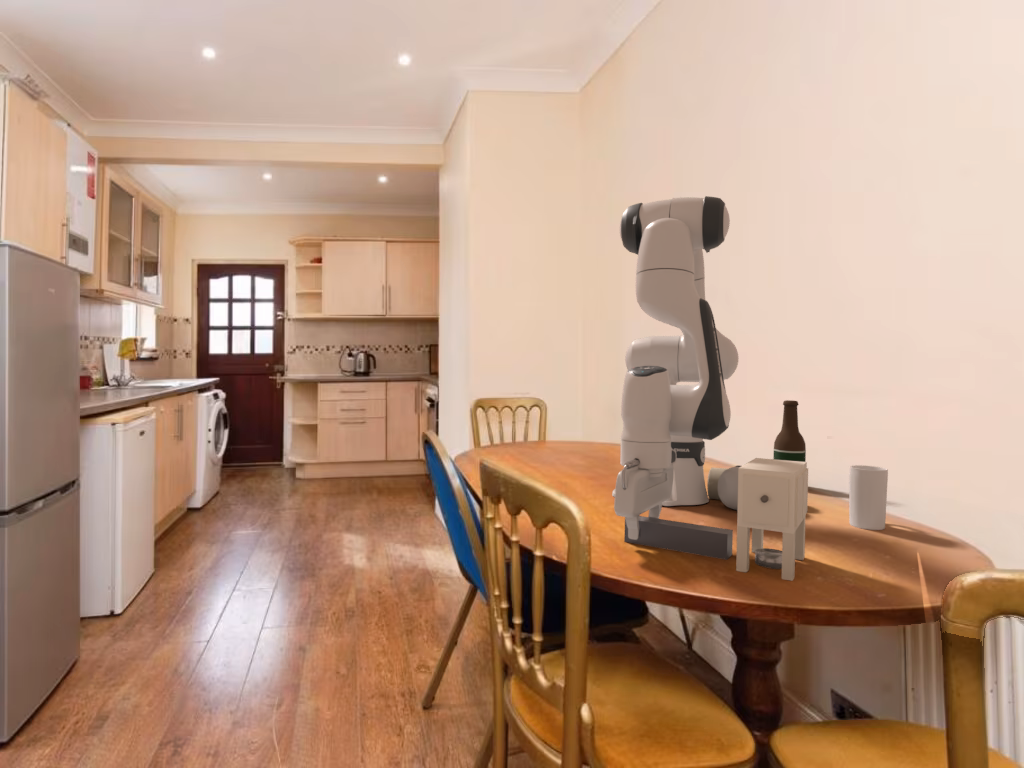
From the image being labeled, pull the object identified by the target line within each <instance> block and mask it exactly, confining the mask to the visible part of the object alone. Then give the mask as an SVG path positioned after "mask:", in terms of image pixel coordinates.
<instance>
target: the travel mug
mask: <svg viewBox="0 0 1024 768" xmlns="http://www.w3.org/2000/svg"><path fill="white" fill-rule="evenodd" d="M727 469H728V468H722V467H711V468H710V469H709V471H708V475H707V484H706V491H707V495H708V499H709V500H710V499H712V500H713V499H714V500H720V501H721V499H720V497H719V494H718V480H719V478H720V476H721V474H722V473H723V472H724V471H725V470H727Z"/></svg>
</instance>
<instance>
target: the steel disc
mask: <svg viewBox="0 0 1024 768" xmlns="http://www.w3.org/2000/svg"><path fill="white" fill-rule="evenodd" d="M754 563H755V565H757V566H759V567H762V568H766V569H770V570H771V569H772V570H773V569H774V570H782V550H781V549H780V550H779V549H774V548H768V547H767V548H764V547H763V548H762V549H757V550H755V553H754Z"/></svg>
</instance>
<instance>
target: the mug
mask: <svg viewBox="0 0 1024 768" xmlns="http://www.w3.org/2000/svg"><path fill="white" fill-rule="evenodd" d="M888 476H889V469H888V468H886V467H883V466H882V467H881V466H875V465H863V464H861V465H860V464H858V465H857V464H855V465H854V464H852V465H849V474H848V477H849V478H848V479H849V480H848V481H849V482H848V484H849V495H848V496H849V497H848V498H849V499H848V500H849V505H848V507H849V509H848V513H849V514H848V516H849V517H848V518H849V525H850V526H851V527H854V528H858V529H863V530H869V531H883V530H885V528H886V519H887V497H888V479H889V477H888Z"/></svg>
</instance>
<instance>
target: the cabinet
mask: <svg viewBox="0 0 1024 768" xmlns="http://www.w3.org/2000/svg"><path fill="white" fill-rule="evenodd" d="M740 466H741V467H739V468H738V510H736V512H737V514H736V516H737V518H736V519H737V521H736V523H737V525H736V557H735V558H736V562H735V563H736V567H735V568H736V569H735V572H741V573H747V572H748V571H750V545H751V553H754V554H755V550H757V549H762V548H764V532H765V531H770V532H771V531H772V532H778V533H782V541H781V542H782V543H781V545H782V546H781V547H782V548H781V549H782V550H781V551H782V569H781V580H786V581H790V582H791V581H794V579H795V575H796V574H795V573H796V571H795V568H796V567H795V566H796V560H798V561H799V560H800V561H804V558H805V553H806V552H805V548H806V514H807V513H808V503H809V502H808V498H809V497H808V496H809V495H808V494H809V493H808V492H809V491H808V490H809V468H808V467H807V466H808V461H805V462H799V461H787V460H775V459H773V458H772V459H771V458H761V457H755V458H753V459H751V460H750V461H748V462H746V463H745V464H743V465H740ZM750 541H751V544H750Z"/></svg>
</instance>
